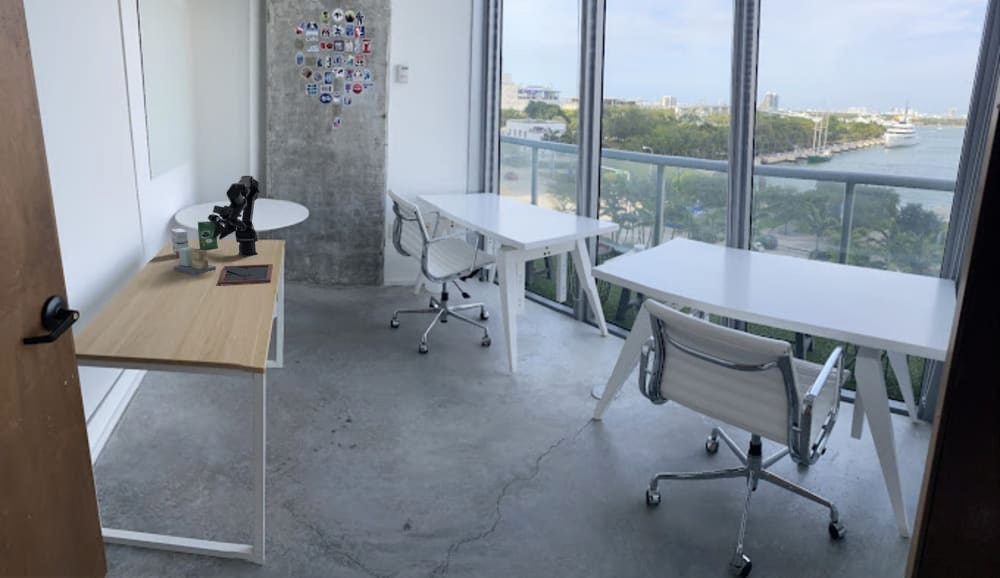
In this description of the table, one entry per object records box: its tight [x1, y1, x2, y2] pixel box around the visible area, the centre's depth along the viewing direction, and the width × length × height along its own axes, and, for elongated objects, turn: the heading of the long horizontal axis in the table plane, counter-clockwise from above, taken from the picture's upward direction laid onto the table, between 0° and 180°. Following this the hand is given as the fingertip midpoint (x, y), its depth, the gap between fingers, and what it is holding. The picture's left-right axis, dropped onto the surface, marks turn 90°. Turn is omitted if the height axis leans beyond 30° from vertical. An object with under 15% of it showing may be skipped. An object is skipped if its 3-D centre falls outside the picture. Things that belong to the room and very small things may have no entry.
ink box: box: [170, 228, 189, 258], centre depth 337 cm, size 8×5×12 cm, turn 39°
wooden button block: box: [191, 249, 209, 269], centre depth 312 cm, size 4×4×7 cm
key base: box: [172, 264, 217, 276], centre depth 315 cm, size 10×14×2 cm
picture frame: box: [218, 263, 274, 286], centre depth 309 cm, size 20×2×25 cm
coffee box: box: [197, 220, 219, 250], centre depth 350 cm, size 8×3×13 cm, turn 117°
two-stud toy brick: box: [178, 247, 196, 266], centre depth 316 cm, size 4×4×7 cm
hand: (216, 238), depth 318 cm, fingers open, 3 cm apart
